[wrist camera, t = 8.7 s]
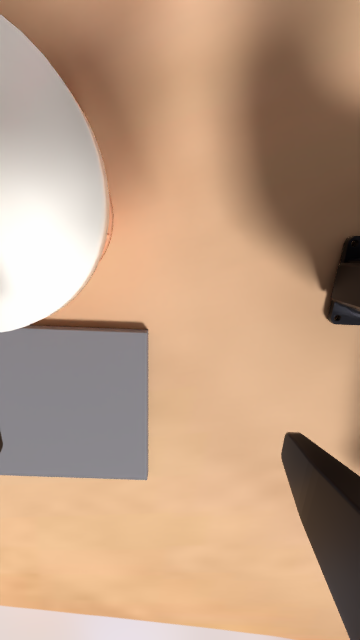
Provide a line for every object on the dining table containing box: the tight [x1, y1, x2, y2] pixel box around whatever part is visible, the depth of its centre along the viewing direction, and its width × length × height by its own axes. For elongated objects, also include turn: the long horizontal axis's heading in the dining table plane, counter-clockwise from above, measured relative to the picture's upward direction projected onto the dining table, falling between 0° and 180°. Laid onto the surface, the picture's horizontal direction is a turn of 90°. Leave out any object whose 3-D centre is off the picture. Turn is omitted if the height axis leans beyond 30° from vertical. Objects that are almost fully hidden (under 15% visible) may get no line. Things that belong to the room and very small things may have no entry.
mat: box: [0, 325, 148, 480], centre depth 21 cm, size 15×15×1 cm
